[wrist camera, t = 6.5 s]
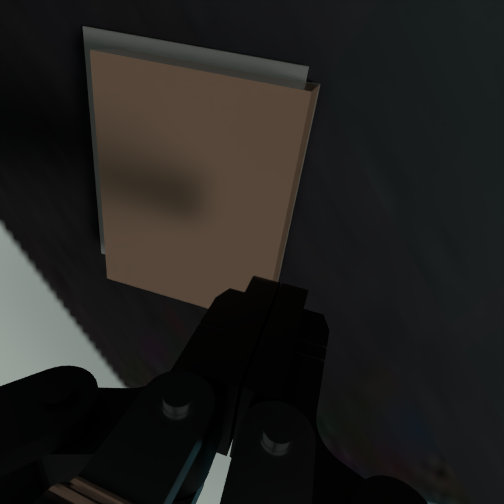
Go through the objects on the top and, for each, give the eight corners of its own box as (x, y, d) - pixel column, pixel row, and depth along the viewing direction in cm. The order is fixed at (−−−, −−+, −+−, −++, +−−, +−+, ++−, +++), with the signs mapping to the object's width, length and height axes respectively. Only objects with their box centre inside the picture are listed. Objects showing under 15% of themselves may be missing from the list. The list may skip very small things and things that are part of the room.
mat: (87, 26, 16) (82, 26, 15) (308, 66, 14) (307, 66, 14) (104, 250, 21) (101, 253, 21) (263, 296, 20) (262, 299, 20)
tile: (320, 84, 14) (126, 48, 15) (311, 91, 12) (89, 49, 13) (274, 294, 19) (133, 254, 21) (263, 324, 17) (107, 278, 19)
